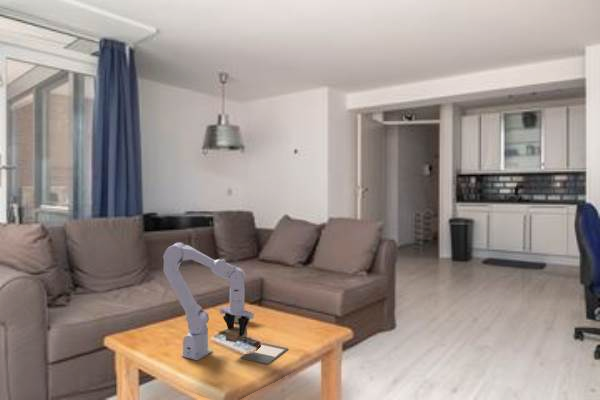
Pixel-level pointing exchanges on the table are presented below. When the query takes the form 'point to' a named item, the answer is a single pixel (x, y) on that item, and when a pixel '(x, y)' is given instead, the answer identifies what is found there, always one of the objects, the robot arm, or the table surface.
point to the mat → (265, 354)
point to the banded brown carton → (234, 334)
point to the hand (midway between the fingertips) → (236, 334)
